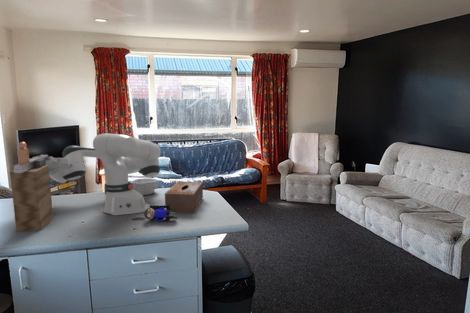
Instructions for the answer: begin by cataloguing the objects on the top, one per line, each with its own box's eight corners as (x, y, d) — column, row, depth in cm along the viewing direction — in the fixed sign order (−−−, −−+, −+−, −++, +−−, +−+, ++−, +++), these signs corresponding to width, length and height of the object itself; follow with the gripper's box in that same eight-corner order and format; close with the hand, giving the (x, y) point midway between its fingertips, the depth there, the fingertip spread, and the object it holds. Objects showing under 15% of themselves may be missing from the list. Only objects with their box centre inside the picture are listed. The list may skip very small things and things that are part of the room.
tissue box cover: (193, 213, 172) (193, 194, 170) (165, 213, 173) (164, 193, 171) (202, 199, 197) (202, 182, 195) (177, 198, 198) (177, 181, 196)
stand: (53, 218, 163) (47, 158, 158) (41, 230, 149) (35, 164, 145) (30, 220, 162) (24, 159, 157) (16, 231, 148) (9, 164, 143)
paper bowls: (135, 190, 215) (134, 177, 214) (159, 189, 215) (159, 177, 214) (128, 197, 200) (128, 183, 199) (155, 196, 200) (154, 183, 199)
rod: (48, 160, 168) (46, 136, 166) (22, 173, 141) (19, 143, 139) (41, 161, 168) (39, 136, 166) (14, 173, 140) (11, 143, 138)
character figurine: (175, 224, 158) (143, 224, 158) (178, 217, 165) (147, 217, 165) (174, 208, 156) (142, 208, 156) (177, 202, 163) (146, 202, 163)
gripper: (73, 172, 177) (64, 163, 165) (30, 173, 174) (18, 164, 162) (74, 161, 180) (65, 151, 167) (32, 162, 177) (20, 152, 164)
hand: (42, 158), depth 164 cm, fingers open, 5 cm apart
